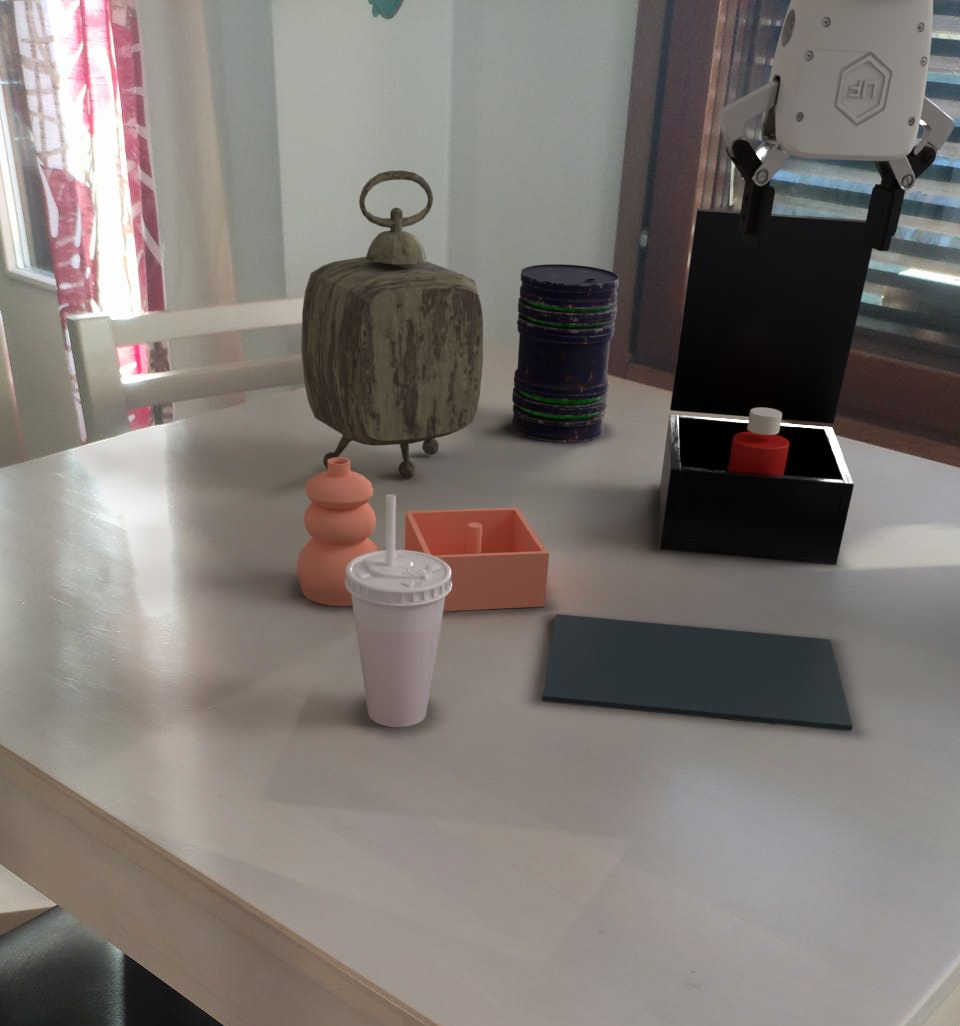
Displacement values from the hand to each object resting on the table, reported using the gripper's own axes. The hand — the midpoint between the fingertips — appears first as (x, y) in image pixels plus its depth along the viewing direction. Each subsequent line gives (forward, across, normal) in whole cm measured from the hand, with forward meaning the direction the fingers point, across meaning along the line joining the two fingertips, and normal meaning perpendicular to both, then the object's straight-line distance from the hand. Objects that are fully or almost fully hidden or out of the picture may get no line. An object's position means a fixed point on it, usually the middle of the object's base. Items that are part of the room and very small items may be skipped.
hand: (814, 246), depth 92 cm
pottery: (+24, -30, -4) cm, 38 cm away
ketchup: (+23, 0, +4) cm, 23 cm away
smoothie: (+24, -34, -24) cm, 48 cm away
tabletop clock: (+24, -27, +22) cm, 42 cm away
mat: (+24, -13, -20) cm, 34 cm away
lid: (+8, +3, +13) cm, 15 cm away
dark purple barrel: (+24, -8, +35) cm, 43 cm away
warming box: (+24, +1, +6) cm, 24 cm away
